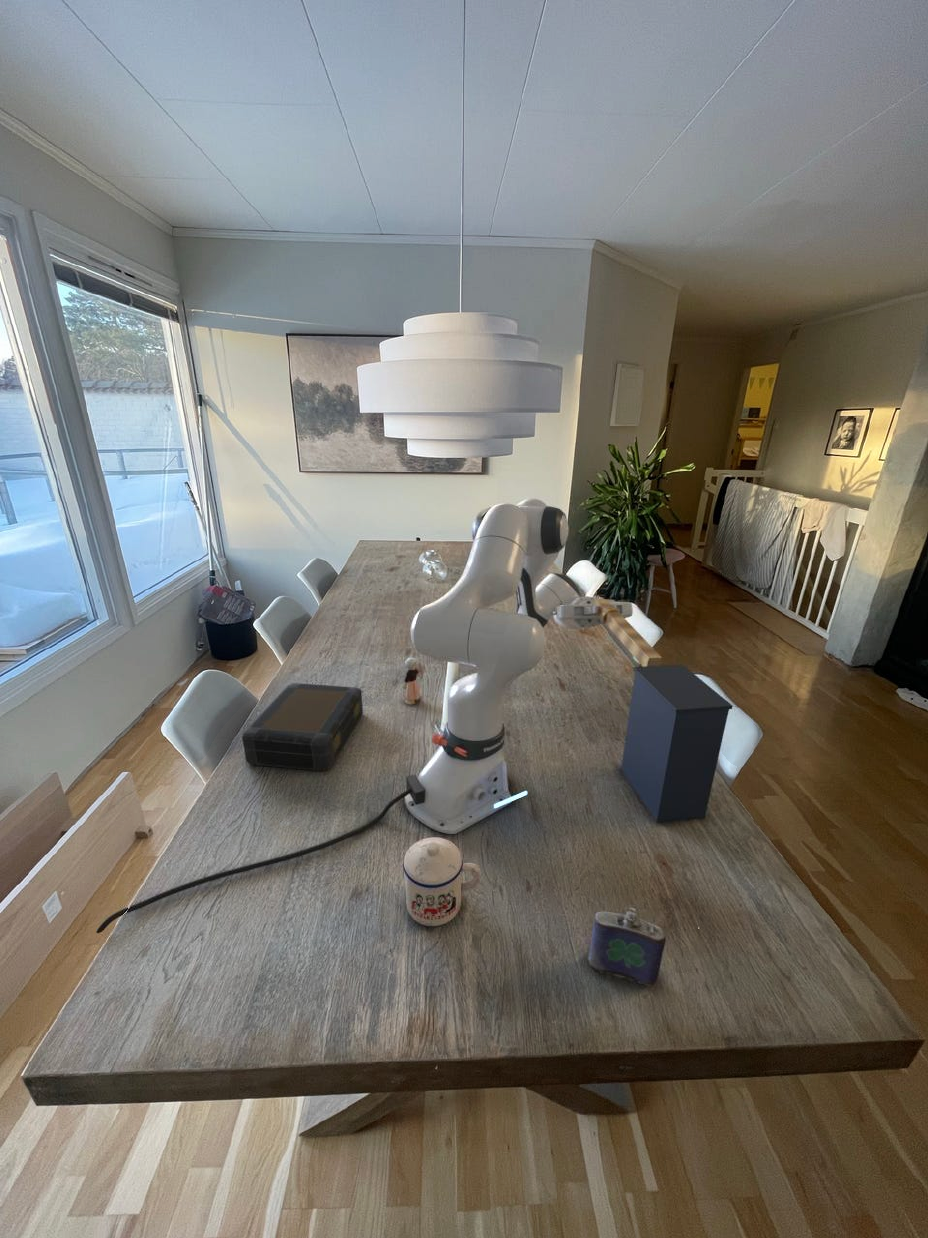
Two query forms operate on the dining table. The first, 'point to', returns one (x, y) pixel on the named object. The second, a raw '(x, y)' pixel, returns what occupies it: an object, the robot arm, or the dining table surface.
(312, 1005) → the dining table surface
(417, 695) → the grandmother figurine
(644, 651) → the ring rod
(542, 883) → the dining table surface
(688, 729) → the stand
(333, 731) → the black hard case
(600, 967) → the flask
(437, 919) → the teacup with lid
